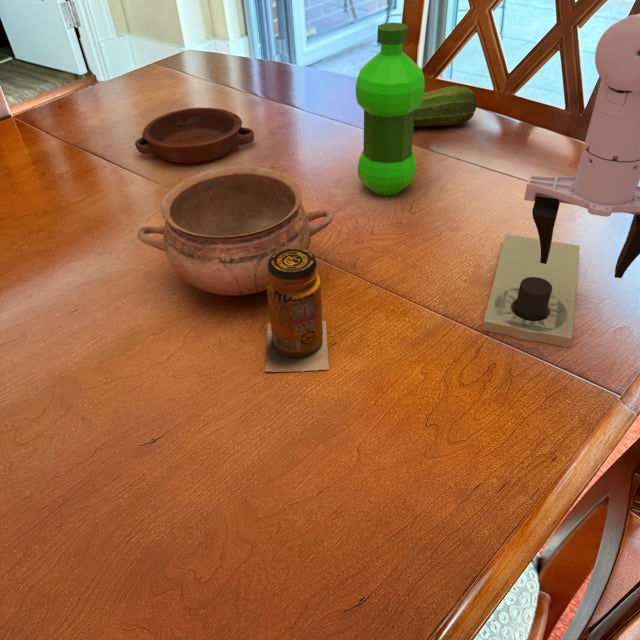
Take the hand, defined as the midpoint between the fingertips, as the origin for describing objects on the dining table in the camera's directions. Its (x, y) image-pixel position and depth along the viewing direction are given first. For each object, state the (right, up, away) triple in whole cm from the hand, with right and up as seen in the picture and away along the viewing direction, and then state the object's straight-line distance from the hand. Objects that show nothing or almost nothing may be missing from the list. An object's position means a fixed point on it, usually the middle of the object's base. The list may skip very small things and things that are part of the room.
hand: (580, 265), depth 66 cm
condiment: (-31, -9, +6) cm, 33 cm away
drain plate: (-1, -2, +12) cm, 12 cm away
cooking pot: (-39, 0, +16) cm, 42 cm away
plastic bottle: (-18, +16, +34) cm, 42 cm away
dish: (-52, +26, +48) cm, 76 cm away
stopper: (-3, -6, +8) cm, 10 cm away
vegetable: (-8, +32, +53) cm, 62 cm away
